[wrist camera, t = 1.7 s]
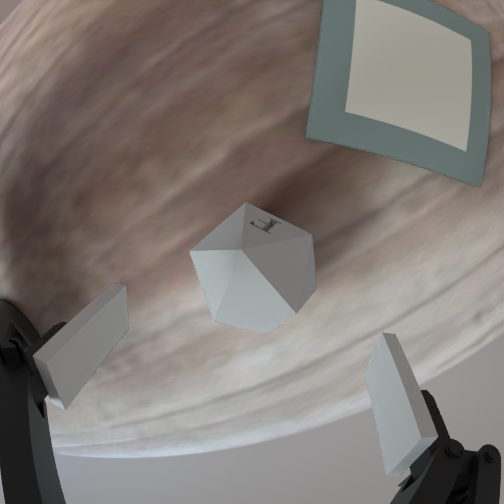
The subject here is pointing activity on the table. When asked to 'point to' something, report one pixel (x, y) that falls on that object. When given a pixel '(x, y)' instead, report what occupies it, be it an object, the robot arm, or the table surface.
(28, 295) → the table surface
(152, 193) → the table surface
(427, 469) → the robot arm
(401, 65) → the base board
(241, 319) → the die
